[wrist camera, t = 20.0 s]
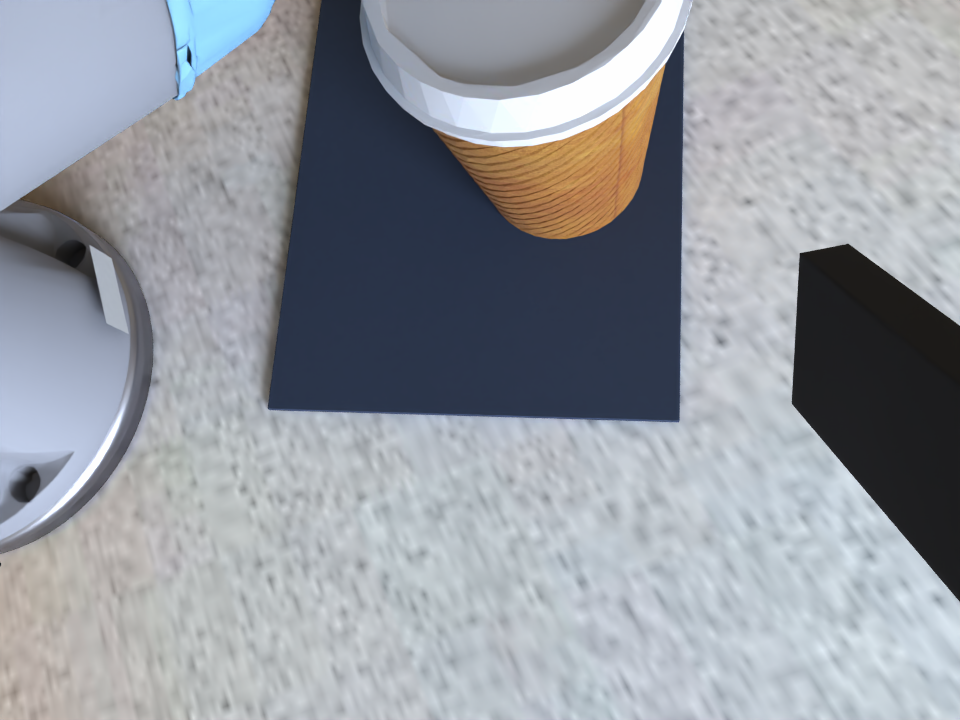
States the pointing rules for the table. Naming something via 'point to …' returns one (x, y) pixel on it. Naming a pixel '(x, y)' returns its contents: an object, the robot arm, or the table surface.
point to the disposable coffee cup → (533, 95)
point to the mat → (466, 271)
